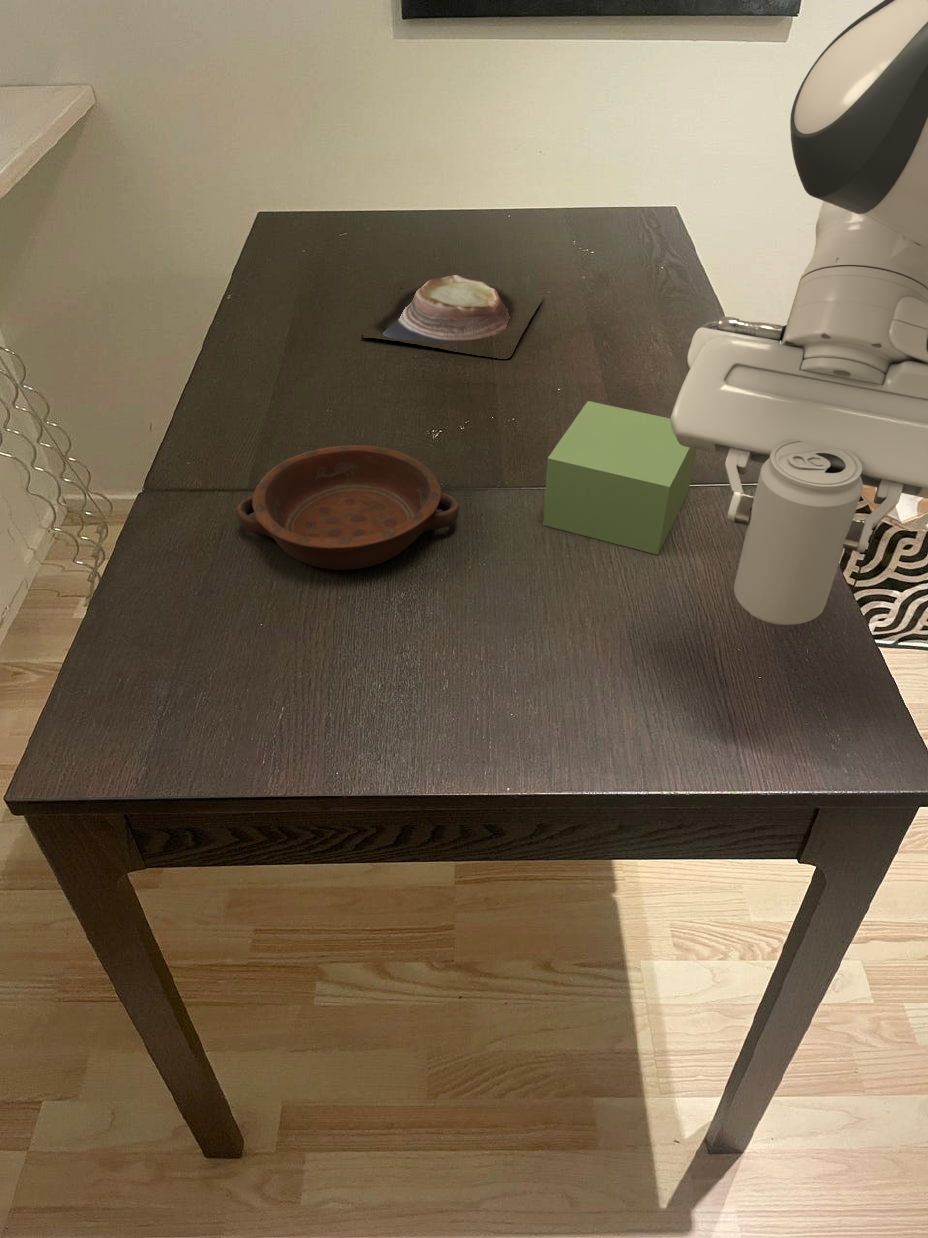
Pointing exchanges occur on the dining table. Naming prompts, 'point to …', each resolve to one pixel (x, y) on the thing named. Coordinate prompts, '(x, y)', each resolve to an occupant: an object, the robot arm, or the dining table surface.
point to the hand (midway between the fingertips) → (794, 535)
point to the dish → (347, 506)
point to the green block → (618, 477)
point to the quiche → (451, 312)
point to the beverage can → (796, 532)
